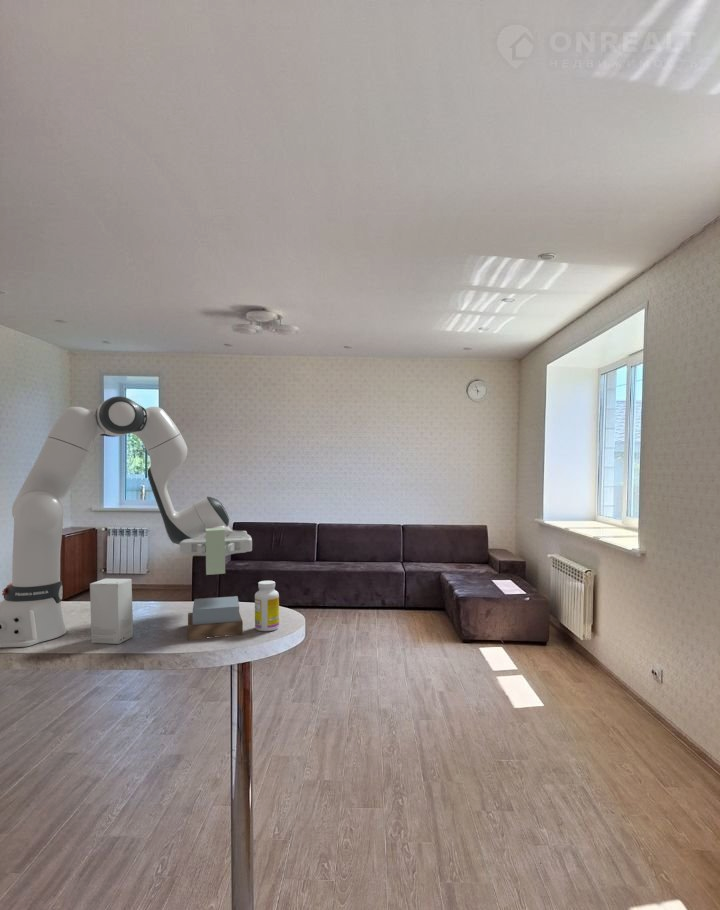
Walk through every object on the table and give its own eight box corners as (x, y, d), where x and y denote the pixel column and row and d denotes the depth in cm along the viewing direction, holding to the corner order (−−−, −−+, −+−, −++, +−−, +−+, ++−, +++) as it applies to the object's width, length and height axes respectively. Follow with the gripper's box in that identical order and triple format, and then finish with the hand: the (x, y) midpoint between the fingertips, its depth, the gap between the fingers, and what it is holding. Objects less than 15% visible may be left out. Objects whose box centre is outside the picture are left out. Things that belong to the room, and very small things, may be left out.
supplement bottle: (281, 625, 152) (281, 579, 152) (275, 632, 145) (275, 585, 146) (258, 624, 153) (258, 579, 153) (251, 631, 146) (251, 584, 147)
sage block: (206, 574, 145) (205, 530, 146) (206, 571, 150) (205, 528, 150) (225, 573, 147) (224, 529, 147) (224, 570, 152) (223, 527, 152)
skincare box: (133, 637, 142) (134, 578, 142) (117, 645, 135) (117, 583, 136) (106, 635, 144) (106, 577, 144) (88, 643, 137) (89, 582, 138)
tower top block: (192, 624, 141) (192, 609, 141) (194, 613, 153) (194, 599, 153) (239, 621, 144) (239, 606, 144) (237, 610, 156) (237, 596, 156)
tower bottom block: (188, 642, 139) (188, 626, 140) (187, 627, 153) (187, 612, 153) (242, 636, 144) (242, 621, 144) (238, 622, 157) (238, 608, 157)
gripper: (181, 533, 159) (175, 539, 146) (251, 530, 163) (252, 536, 150) (181, 554, 159) (175, 562, 146) (252, 551, 163) (252, 559, 150)
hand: (215, 549), depth 148 cm, fingers closed on sage block, 5 cm apart
